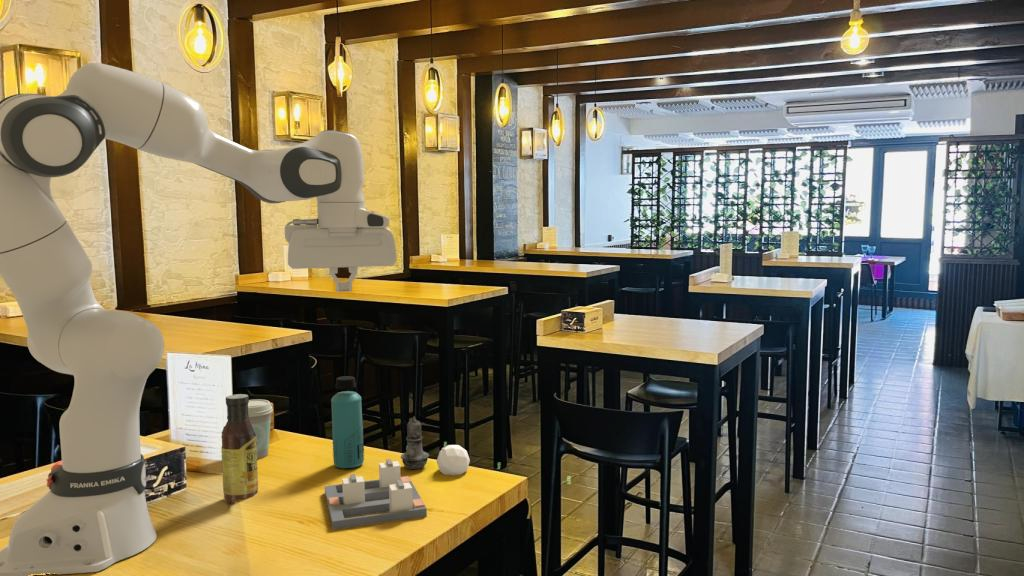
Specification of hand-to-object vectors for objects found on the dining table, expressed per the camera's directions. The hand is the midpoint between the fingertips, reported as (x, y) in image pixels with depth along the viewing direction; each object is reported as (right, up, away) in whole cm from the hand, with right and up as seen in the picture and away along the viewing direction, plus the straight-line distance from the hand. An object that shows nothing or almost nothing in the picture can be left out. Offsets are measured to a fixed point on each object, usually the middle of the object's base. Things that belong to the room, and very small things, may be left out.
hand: (343, 291), depth 138 cm
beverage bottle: (-2, -38, +14) cm, 41 cm away
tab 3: (+13, -39, -11) cm, 43 cm away
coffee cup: (-26, -37, +24) cm, 52 cm away
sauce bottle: (-19, -40, -1) cm, 44 cm away
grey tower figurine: (+12, -38, +13) cm, 42 cm away
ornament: (+20, -38, +11) cm, 45 cm away
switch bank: (+7, -40, -7) cm, 41 cm away
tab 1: (+4, -39, -8) cm, 40 cm away
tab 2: (+9, -38, 0) cm, 39 cm away
